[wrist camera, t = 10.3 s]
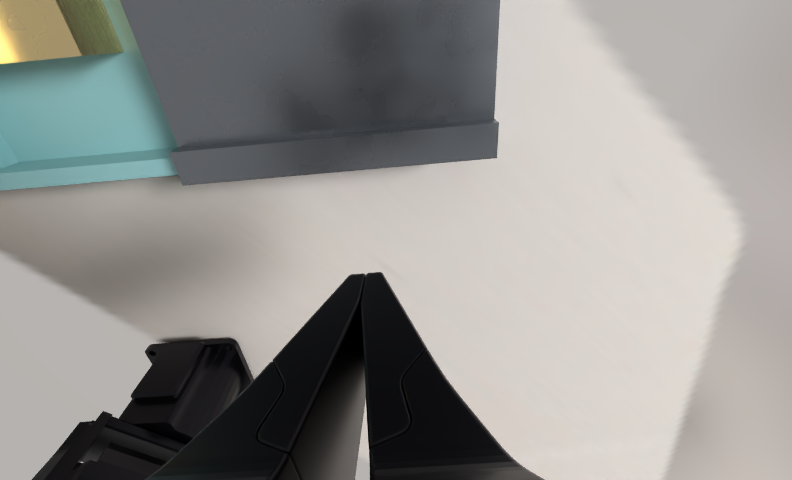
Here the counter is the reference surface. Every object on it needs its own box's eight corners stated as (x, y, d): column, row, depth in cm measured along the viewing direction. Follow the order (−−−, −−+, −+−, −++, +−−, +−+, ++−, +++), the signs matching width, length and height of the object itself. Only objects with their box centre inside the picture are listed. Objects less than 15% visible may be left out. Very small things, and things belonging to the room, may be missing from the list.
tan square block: (124, 51, 16) (81, 55, 14) (36, 60, 16) (-19, 66, 14) (75, -66, 14) (16, -83, 12) (-25, -55, 14) (-102, -70, 12)
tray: (206, 157, 19) (182, 174, 17) (24, 174, 19) (-23, 192, 17) (54, -260, 12) (-22, -325, 10) (-232, -221, 12) (-366, -275, 10)
